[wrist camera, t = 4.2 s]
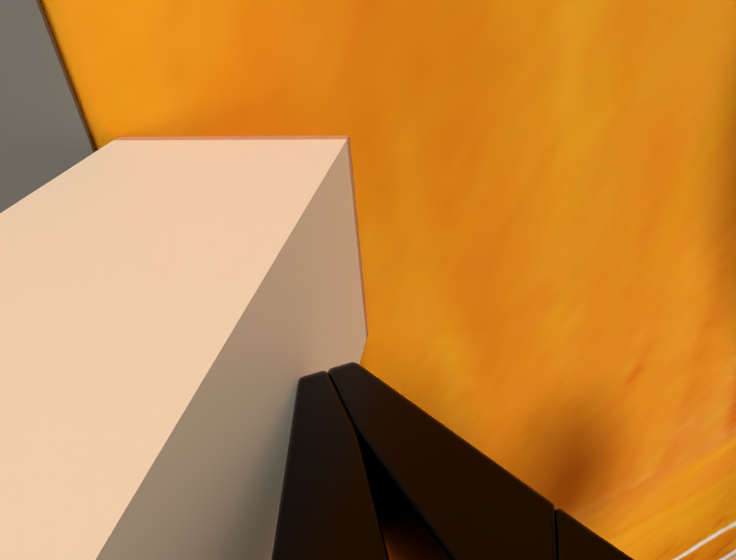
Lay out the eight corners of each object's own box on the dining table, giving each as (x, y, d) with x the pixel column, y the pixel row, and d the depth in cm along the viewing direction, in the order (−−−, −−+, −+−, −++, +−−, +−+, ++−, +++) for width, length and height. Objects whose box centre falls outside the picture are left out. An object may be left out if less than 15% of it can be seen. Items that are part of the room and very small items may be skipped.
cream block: (349, 134, 10) (-103, 890, 2) (368, 333, 12) (180, 990, 5) (118, 136, 10) (-737, 689, 3) (181, 321, 13) (-214, 862, 6)
